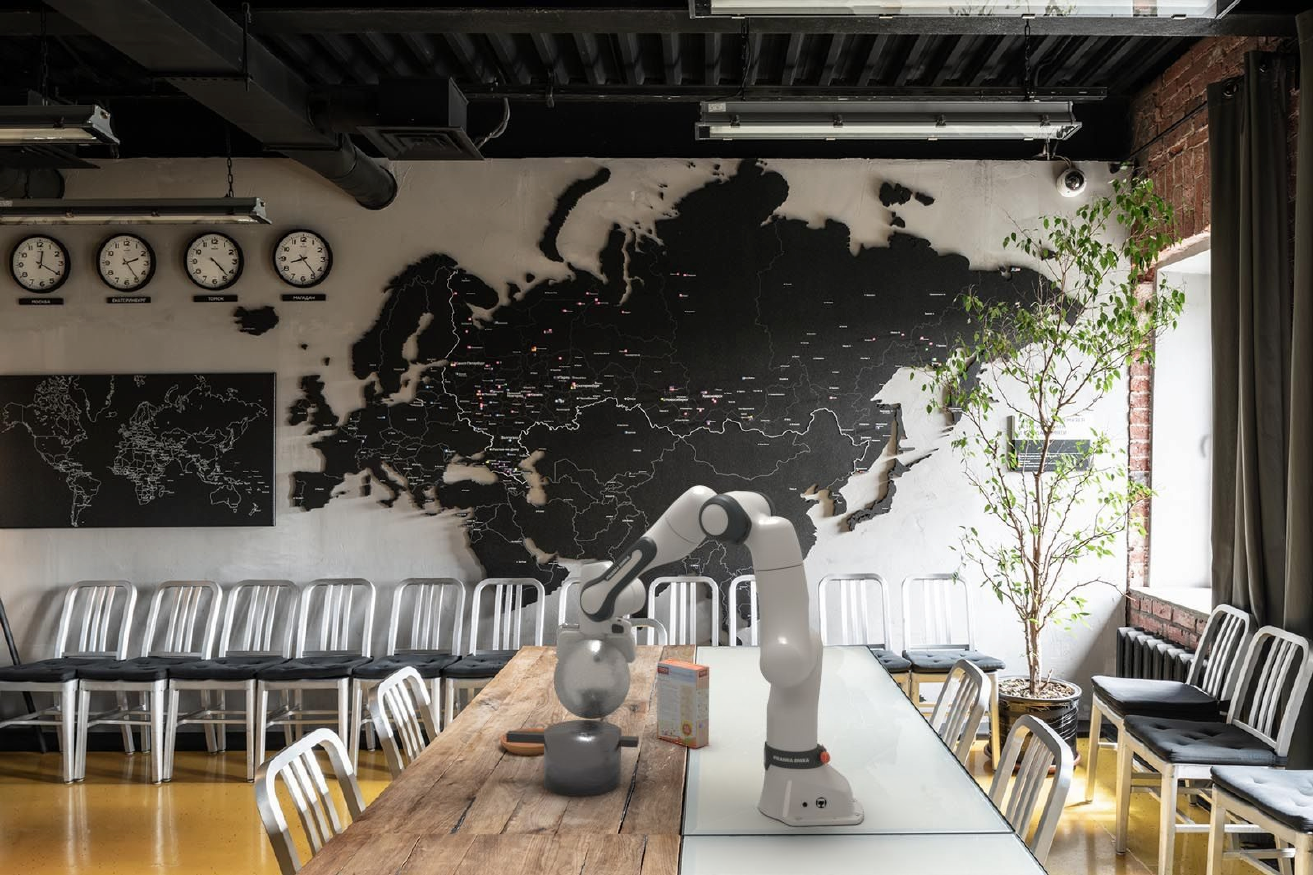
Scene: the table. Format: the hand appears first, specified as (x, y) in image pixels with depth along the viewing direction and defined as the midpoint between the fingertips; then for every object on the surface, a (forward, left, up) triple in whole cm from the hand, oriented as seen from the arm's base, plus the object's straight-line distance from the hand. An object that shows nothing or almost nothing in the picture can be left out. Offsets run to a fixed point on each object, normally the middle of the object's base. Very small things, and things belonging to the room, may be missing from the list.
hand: (595, 679), depth 235 cm
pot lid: (0, +6, +1) cm, 6 cm away
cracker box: (-21, -17, -20) cm, 34 cm away
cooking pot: (+3, +17, -20) cm, 26 cm away
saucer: (+18, -7, -20) cm, 28 cm away
